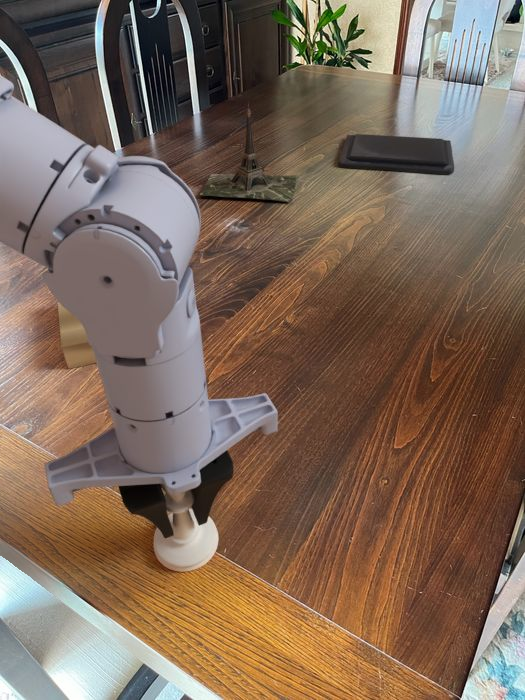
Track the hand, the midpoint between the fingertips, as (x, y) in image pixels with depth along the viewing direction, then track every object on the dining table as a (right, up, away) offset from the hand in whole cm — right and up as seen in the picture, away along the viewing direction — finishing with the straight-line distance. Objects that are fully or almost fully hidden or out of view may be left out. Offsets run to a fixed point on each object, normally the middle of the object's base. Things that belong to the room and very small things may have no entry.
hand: (181, 519), depth 40 cm
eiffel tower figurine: (+4, +39, +51) cm, 64 cm away
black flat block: (+30, +48, +61) cm, 83 cm away
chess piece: (0, -2, +2) cm, 3 cm away
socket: (-11, +15, +23) cm, 29 cm away
